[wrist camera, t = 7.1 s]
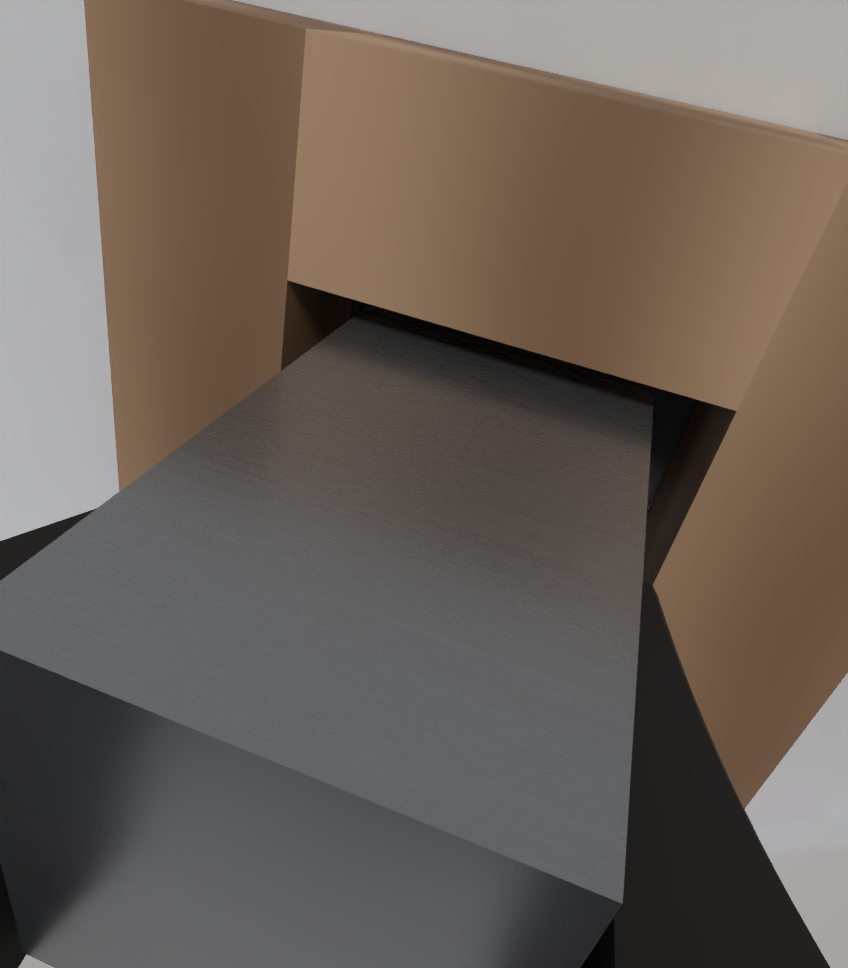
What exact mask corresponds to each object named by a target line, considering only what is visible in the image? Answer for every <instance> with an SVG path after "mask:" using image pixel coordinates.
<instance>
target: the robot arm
mask: <svg viewBox="0 0 848 968" xmlns="http://www.w3.org/2000/svg"><path fill="white" fill-rule="evenodd" d="M94 510H96V509H94ZM94 510H91V511H88V512H85V513H82V514H79V515H76V516H73V517H70V518H68V519H65V520H62V521H59V522H56V523H53V524H50V525H47V526H44V527H41V528H38V529H35V530H32V531H29V532H26V533H23V534H20V535H17V536H14V537H11V538H9V539H6V540H3V541H0V581H1V580H2V579H3V578H5V577H6V576H7V575H9V574H10V573H11V572H13V571H14V570H15V569H17V568H18V567H19V566H21V565H22V564H23V563H25V562H26V561H28V560H29V559H30V558H32V557H33V556H34V555H36V554H37V553H38V552H40V551H41V550H42V549H44V548H45V547H46V546H48V545H49V544H50V543H52V542H53V541H54V540H56V539H57V538H58V537H60V536H61V535H62V534H64V533H65V532H66V531H68V530H69V529H70V528H72V527H73V526H74V525H76V524H77V523H78V522H80V521H81V520H82V519H84V518H85V517H86V516H88V515H89V514H90V513H92V512H93V511H94ZM25 955H26V954H25V953H23V949H22V946H21V942H20V938H19V934H18V930H17V926H16V922H15V918H14V914H13V910H12V906H11V902H10V898H9V895H8V891H7V887H6V883H5V879H4V875H3V871H2V867H1V863H0V968H18V967H19V965H20V964H21V962H22V960H23V959H24V957H25ZM581 968H830V966H829V965H828V963H827V961H826V960H825V958H824V956H823V955H822V953H821V951H820V949H819V948H818V946H817V944H816V942H815V941H814V939H813V937H812V936H811V934H810V932H809V930H808V929H807V927H806V925H805V923H804V921H803V920H802V918H801V916H800V914H799V913H798V911H797V909H796V907H795V906H794V904H793V902H792V900H791V899H790V897H789V895H788V893H787V891H786V890H785V888H784V886H783V884H782V882H781V880H780V879H779V876H778V875H777V873H776V871H775V869H774V867H773V865H772V863H771V861H770V859H769V858H768V856H767V854H766V852H765V850H764V848H763V846H762V844H761V842H760V840H759V838H758V836H757V834H756V832H755V830H754V828H753V826H752V824H751V822H750V820H749V818H748V816H747V814H746V812H745V810H744V808H743V806H742V804H741V802H740V799H739V797H738V795H737V793H736V791H735V789H734V787H733V785H732V783H731V781H730V778H729V776H728V774H727V772H726V770H725V768H724V765H723V763H722V761H721V759H720V757H719V754H718V752H717V750H716V747H715V745H714V743H713V740H712V738H711V736H710V733H709V731H708V728H707V726H706V724H705V721H704V719H703V717H702V714H701V712H700V710H699V707H698V705H697V703H696V700H695V698H694V695H693V693H692V690H691V688H690V685H689V682H688V680H687V677H686V675H685V672H684V669H683V667H682V664H681V661H680V659H679V656H678V653H677V651H676V648H675V645H674V642H673V639H672V636H671V634H670V631H669V628H668V625H667V622H666V619H665V616H664V613H663V610H662V607H661V604H660V601H659V598H658V595H657V593H656V591H655V589H654V587H653V585H651V584H648V583H645V582H643V583H642V599H641V616H640V632H639V648H638V664H637V680H636V697H635V713H634V729H633V745H632V761H631V778H630V794H629V810H628V826H627V842H626V859H625V875H624V891H623V904H622V906H621V907H620V909H619V910H618V912H617V913H616V915H615V916H614V918H613V919H612V921H611V922H610V924H609V925H608V927H607V928H606V930H605V931H604V933H603V934H602V936H601V938H600V939H599V941H598V942H597V944H596V945H595V947H594V948H593V950H592V951H591V953H590V954H589V956H588V957H587V959H586V960H585V962H584V963H583V965H582V966H581Z"/></svg>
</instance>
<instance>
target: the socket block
mask: <svg viewBox="0 0 848 968" xmlns="http://www.w3.org/2000/svg"><path fill="white" fill-rule="evenodd" d="M84 5H85V19H86V33H87V46H88V60H89V74H90V88H91V102H92V116H93V130H94V144H95V158H96V172H97V186H98V200H99V213H100V227H101V241H102V255H103V269H104V283H105V297H106V311H107V325H108V339H109V353H110V366H111V380H112V394H113V408H114V422H115V436H116V450H117V464H118V478H119V492H120V491H121V490H123V489H124V488H125V487H127V486H128V485H129V484H131V483H132V482H133V481H135V480H136V479H137V478H139V477H140V476H141V475H143V474H144V473H145V472H147V471H148V470H149V469H151V468H152V467H153V466H155V465H156V464H157V463H159V462H160V461H161V460H163V459H164V458H165V457H167V456H168V455H169V454H171V453H172V452H173V451H175V450H176V449H177V448H179V447H180V446H181V445H183V444H184V443H185V442H187V441H188V440H189V439H191V438H192V437H193V436H195V435H196V434H197V433H199V432H200V431H201V430H203V429H204V428H205V427H207V426H208V425H210V424H211V423H212V422H214V421H215V420H216V419H218V418H219V417H220V416H222V415H223V414H224V413H226V412H227V411H228V410H230V409H231V408H232V407H234V406H235V405H236V404H238V403H239V402H240V401H242V400H243V399H244V398H246V397H247V396H248V395H250V394H251V393H252V392H254V391H255V390H256V389H258V388H259V387H260V386H262V385H263V384H264V383H266V382H267V381H268V380H270V379H271V378H272V377H274V376H275V375H276V374H278V373H279V372H280V371H282V370H283V369H284V368H286V367H287V366H288V365H290V364H291V363H292V362H294V361H295V360H296V359H298V358H299V357H301V356H302V355H303V354H305V353H306V352H307V351H309V350H310V349H311V348H313V347H314V346H315V345H317V344H318V343H319V342H321V341H322V340H323V339H325V338H326V337H327V336H329V335H330V334H331V333H333V332H334V331H335V330H337V329H338V328H339V327H341V326H342V325H343V324H345V323H346V322H347V321H349V320H350V319H351V312H352V304H353V300H356V301H360V302H363V303H367V304H370V305H374V306H377V307H381V308H384V309H387V310H391V311H394V312H398V313H401V314H405V315H408V316H411V317H415V318H418V319H422V320H425V321H429V322H432V323H435V324H439V325H442V326H446V327H449V328H453V329H456V330H460V331H463V332H466V333H470V334H473V335H477V336H480V337H484V338H487V339H490V340H494V341H497V342H501V343H504V344H508V345H511V346H514V347H518V348H521V349H525V350H528V351H532V352H535V353H539V354H542V355H545V356H549V357H552V358H556V359H559V360H563V361H566V362H569V363H573V364H576V365H580V366H583V367H587V368H590V369H593V370H597V371H600V372H604V373H607V374H611V375H614V376H617V377H621V378H624V379H628V380H631V381H635V382H638V383H642V384H645V385H648V386H652V387H655V388H659V389H662V390H666V391H669V392H672V393H676V394H679V395H683V396H686V397H690V398H693V399H696V400H698V402H697V404H696V407H695V409H694V411H693V413H692V416H691V418H690V420H689V422H688V425H687V427H686V429H685V431H684V434H683V436H682V438H681V440H680V443H679V445H678V447H677V449H676V452H675V454H674V456H673V458H672V461H671V463H670V465H669V467H668V470H667V472H666V474H665V476H664V479H663V481H662V483H661V485H660V488H659V490H658V492H657V494H656V497H655V499H654V501H653V503H652V506H651V508H650V510H649V512H648V515H647V518H646V535H645V551H644V567H643V582H645V583H648V584H651V585H653V587H654V589H655V591H656V593H657V595H658V598H659V601H660V604H661V607H662V610H663V613H664V616H665V619H666V622H667V625H668V628H669V631H670V634H671V636H672V639H673V642H674V645H675V648H676V651H677V653H678V656H679V659H680V661H681V664H682V667H683V669H684V672H685V675H686V677H687V680H688V682H689V685H690V688H691V690H692V693H693V695H694V698H695V700H696V703H697V705H698V707H699V710H700V712H701V714H702V717H703V719H704V721H705V724H706V726H707V728H708V731H709V733H710V736H711V738H712V740H713V743H714V745H715V747H716V750H717V752H718V754H719V757H720V759H721V761H722V763H723V765H724V768H725V770H726V772H727V774H728V776H729V778H730V781H731V783H732V785H733V787H734V789H735V791H736V793H737V795H738V797H739V799H740V802H741V804H742V806H743V808H744V809H745V807H746V806H747V805H748V803H749V802H750V801H751V799H752V798H753V797H754V795H755V794H756V793H757V791H758V790H759V789H760V787H761V786H762V785H763V783H764V782H765V781H766V780H767V778H768V777H769V776H770V774H771V773H772V772H773V770H774V769H775V768H776V766H777V765H778V764H779V762H780V761H781V760H782V758H783V757H784V756H785V754H786V753H787V752H788V750H789V749H790V748H791V747H792V745H793V744H794V743H795V741H796V740H797V739H798V737H799V736H800V735H801V733H802V732H803V731H804V729H805V728H806V727H807V725H808V724H809V723H810V721H811V720H812V719H813V717H814V716H815V715H816V713H817V712H818V711H819V710H820V708H821V707H822V706H823V704H824V703H825V702H826V700H827V699H828V698H829V696H830V695H831V694H832V692H833V691H834V690H835V688H836V687H837V686H838V684H839V683H840V682H841V680H842V679H843V678H844V677H845V675H846V674H847V673H848V140H843V139H839V138H835V137H830V136H826V135H821V134H817V133H813V132H808V131H804V130H799V129H795V128H791V127H786V126H782V125H777V124H773V123H769V122H764V121H760V120H755V119H751V118H747V117H742V116H738V115H733V114H729V113H725V112H720V111H716V110H711V109H707V108H703V107H698V106H694V105H689V104H685V103H681V102H676V101H672V100H668V99H663V98H659V97H654V96H650V95H646V94H641V93H637V92H632V91H628V90H624V89H619V88H615V87H610V86H606V85H602V84H597V83H593V82H588V81H584V80H580V79H575V78H571V77H566V76H562V75H558V74H553V73H549V72H544V71H540V70H536V69H531V68H527V67H522V66H518V65H514V64H509V63H505V62H500V61H496V60H492V59H487V58H483V57H478V56H474V55H470V54H465V53H461V52H456V51H452V50H448V49H443V48H439V47H434V46H430V45H426V44H421V43H417V42H413V41H408V40H404V39H399V38H395V37H391V36H386V35H382V34H377V33H373V32H369V31H364V30H360V29H355V28H351V27H347V26H342V25H338V24H333V23H329V22H325V21H320V20H316V19H311V18H307V17H303V16H298V15H294V14H289V13H285V12H281V11H276V10H272V9H267V8H263V7H259V6H254V5H250V4H245V3H241V2H237V1H232V0H84Z"/></svg>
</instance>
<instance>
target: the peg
mask: <svg viewBox="0 0 848 968" xmlns="http://www.w3.org/2000/svg"><path fill="white" fill-rule="evenodd" d="M654 389H655V387H652V386H648V385H645V384H642V383H638V382H635V381H631V380H628V379H624V378H621V377H617V376H614V375H611V374H607V373H604V372H600V371H597V370H593V369H590V368H587V367H583V366H580V365H576V364H573V363H569V362H566V361H563V360H559V359H556V358H552V357H549V356H545V355H542V354H539V353H535V352H532V351H528V350H525V349H521V348H518V347H514V346H511V345H508V344H504V343H501V342H497V341H494V340H490V339H487V338H484V337H480V336H477V335H473V334H470V333H466V332H463V331H460V330H456V329H453V328H449V327H446V326H442V325H439V324H435V323H432V322H429V321H425V320H422V319H418V318H415V317H411V316H408V315H405V314H401V313H398V312H394V311H391V310H387V309H384V308H381V307H377V306H374V305H369V306H367V307H366V308H365V309H363V310H362V311H361V312H359V313H358V314H357V315H355V316H354V317H353V318H351V319H350V320H349V321H347V322H346V323H345V324H343V325H342V326H341V327H339V328H338V329H337V330H335V331H334V332H333V333H331V334H330V335H329V336H327V337H326V338H325V339H323V340H322V341H321V342H319V343H318V344H317V345H315V346H314V347H313V348H311V349H310V350H309V351H307V352H306V353H305V354H303V355H302V356H301V357H299V358H298V359H296V360H295V361H294V362H292V363H291V364H290V365H288V366H287V367H286V368H284V369H283V370H282V371H280V372H279V373H278V374H276V375H275V376H274V377H272V378H271V379H270V380H268V381H267V382H266V383H264V384H263V385H262V386H260V387H259V388H258V389H256V390H255V391H254V392H252V393H251V394H250V395H248V396H247V397H246V398H244V399H243V400H242V401H240V402H239V403H238V404H236V405H235V406H234V407H232V408H231V409H230V410H228V411H227V412H226V413H224V414H223V415H222V416H220V417H219V418H218V419H216V420H215V421H214V422H212V423H211V424H210V425H208V426H207V427H205V428H204V429H203V430H201V431H200V432H199V433H197V434H196V435H195V436H193V437H192V438H191V439H189V440H188V441H187V442H185V443H184V444H183V445H181V446H180V447H179V448H177V449H176V450H175V451H173V452H172V453H171V454H169V455H168V456H167V457H165V458H164V459H163V460H161V461H160V462H159V463H157V464H156V465H155V466H153V467H152V468H151V469H149V470H148V471H147V472H145V473H144V474H143V475H141V476H140V477H139V478H137V479H136V480H135V481H133V482H132V483H131V484H129V485H128V486H127V487H125V488H124V489H123V490H121V491H120V492H119V493H117V494H116V495H114V496H113V497H112V498H110V499H109V500H108V501H106V502H105V503H104V504H102V505H101V506H100V507H98V508H97V509H96V510H94V511H93V512H92V513H90V514H89V515H88V516H86V517H85V518H84V519H82V520H81V521H80V522H78V523H77V524H76V525H74V526H73V527H72V528H70V529H69V530H68V531H66V532H65V533H64V534H62V535H61V536H60V537H58V538H57V539H56V540H54V541H53V542H52V543H50V544H49V545H48V546H46V547H45V548H44V549H42V550H41V551H40V552H38V553H37V554H36V555H34V556H33V557H32V558H30V559H29V560H28V561H26V562H25V563H23V564H22V565H21V566H19V567H18V568H17V569H15V570H14V571H13V572H11V573H10V574H9V575H7V576H6V577H5V578H3V579H2V580H1V581H0V863H1V867H2V871H3V875H4V879H5V883H6V887H7V891H8V895H9V898H10V902H11V906H12V910H13V914H14V918H15V922H16V926H17V930H18V934H19V938H20V942H21V946H22V949H23V953H25V954H28V955H30V956H32V957H34V958H36V959H38V960H40V961H42V962H44V963H46V964H48V965H51V966H53V967H55V968H581V966H582V965H583V963H584V962H585V960H586V959H587V957H588V956H589V954H590V953H591V951H592V950H593V948H594V947H595V945H596V944H597V942H598V941H599V939H600V938H601V936H602V934H603V933H604V931H605V930H606V928H607V927H608V925H609V924H610V922H611V921H612V919H613V918H614V916H615V915H616V913H617V912H618V910H619V909H620V907H621V906H622V904H623V891H624V875H625V859H626V842H627V826H628V810H629V794H630V778H631V761H632V745H633V729H634V713H635V697H636V680H637V664H638V648H639V632H640V616H641V599H642V583H643V567H644V551H645V535H646V518H647V502H648V486H649V470H650V454H651V437H652V421H653V405H654Z"/></svg>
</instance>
